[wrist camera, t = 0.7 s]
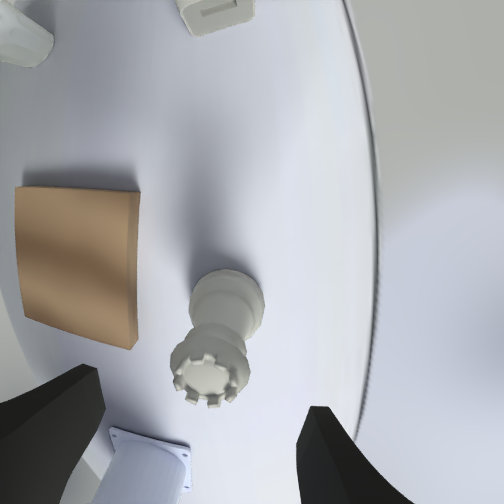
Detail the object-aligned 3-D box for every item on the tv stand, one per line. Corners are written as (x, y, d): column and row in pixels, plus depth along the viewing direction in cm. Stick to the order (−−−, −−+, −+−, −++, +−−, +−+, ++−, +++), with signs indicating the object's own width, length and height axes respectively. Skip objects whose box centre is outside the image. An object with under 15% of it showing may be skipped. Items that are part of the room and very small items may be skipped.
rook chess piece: (280, 302, 18) (291, 387, 10) (229, 345, 18) (211, 436, 11) (227, 251, 17) (198, 309, 9) (178, 299, 18) (128, 375, 10)
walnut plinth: (138, 339, 19) (130, 350, 17) (35, 309, 19) (25, 316, 17) (140, 192, 16) (129, 193, 15) (28, 185, 16) (15, 187, 15)
